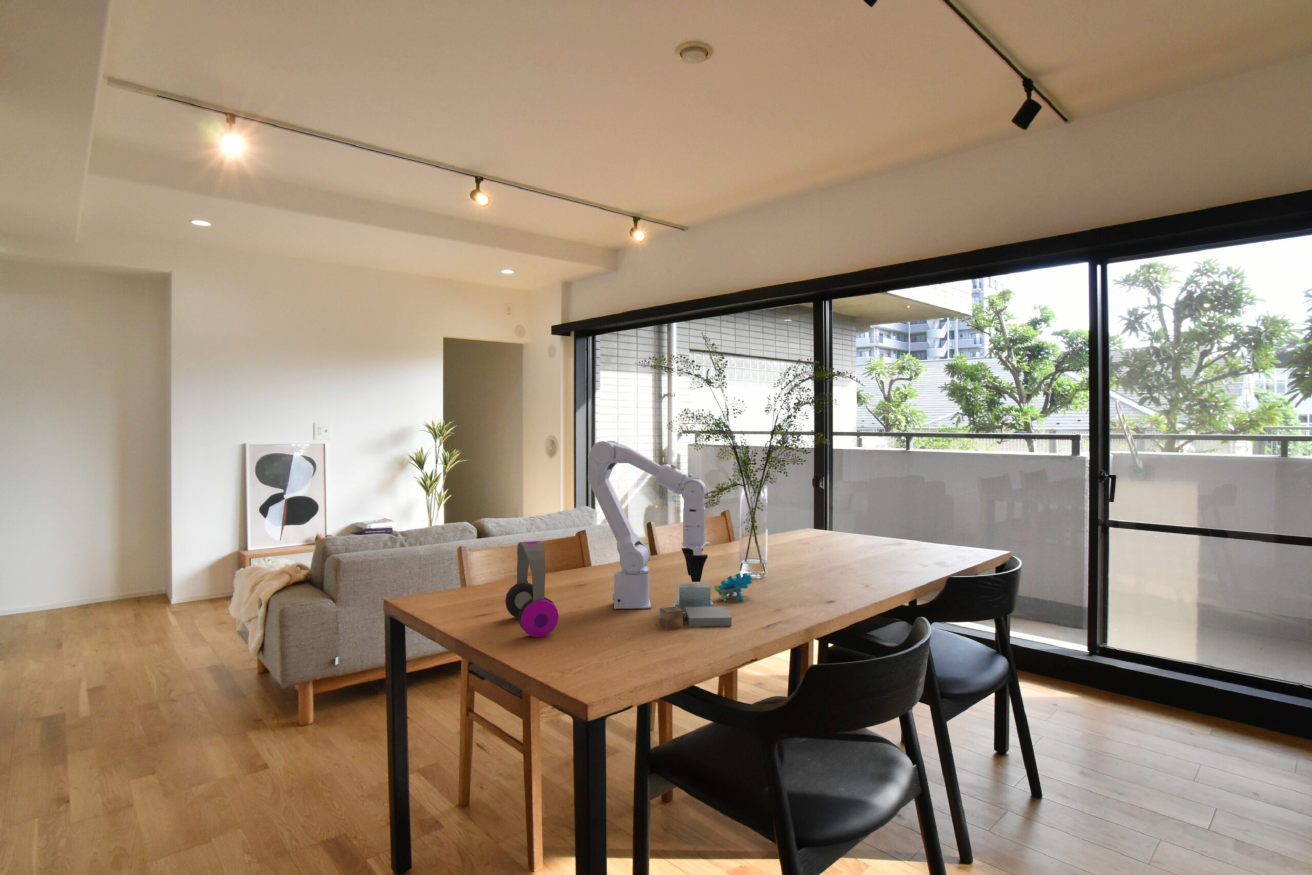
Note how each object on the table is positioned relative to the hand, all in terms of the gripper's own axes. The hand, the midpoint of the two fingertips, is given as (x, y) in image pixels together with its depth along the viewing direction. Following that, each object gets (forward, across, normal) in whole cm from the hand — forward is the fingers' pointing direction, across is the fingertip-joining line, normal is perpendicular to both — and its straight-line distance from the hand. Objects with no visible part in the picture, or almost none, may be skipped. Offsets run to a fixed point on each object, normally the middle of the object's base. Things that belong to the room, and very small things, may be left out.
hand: (694, 578), depth 175 cm
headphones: (+8, -14, +40) cm, 43 cm away
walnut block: (+8, -15, +7) cm, 18 cm away
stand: (+8, -11, -2) cm, 14 cm away
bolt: (+8, -10, +6) cm, 14 cm away
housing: (+8, 0, 0) cm, 8 cm away
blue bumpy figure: (+8, +10, -12) cm, 17 cm away
